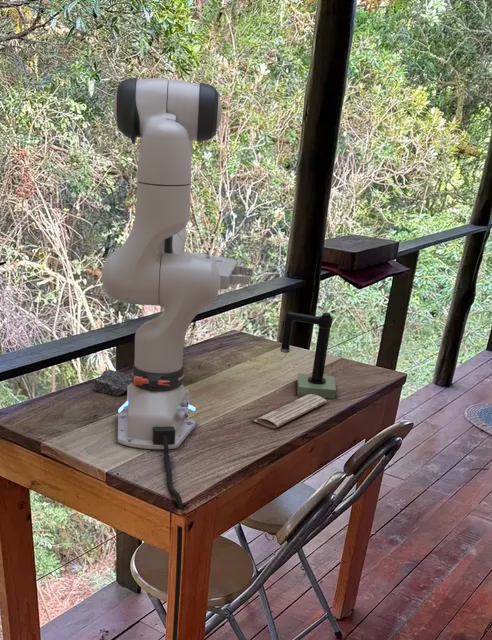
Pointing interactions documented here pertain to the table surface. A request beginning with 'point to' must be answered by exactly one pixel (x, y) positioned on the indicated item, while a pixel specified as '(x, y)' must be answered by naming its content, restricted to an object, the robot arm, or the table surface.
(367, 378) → the table surface
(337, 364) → the table surface
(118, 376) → the rock
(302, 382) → the block
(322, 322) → the spout
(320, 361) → the tap pillar
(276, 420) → the beige flat ridged bar
